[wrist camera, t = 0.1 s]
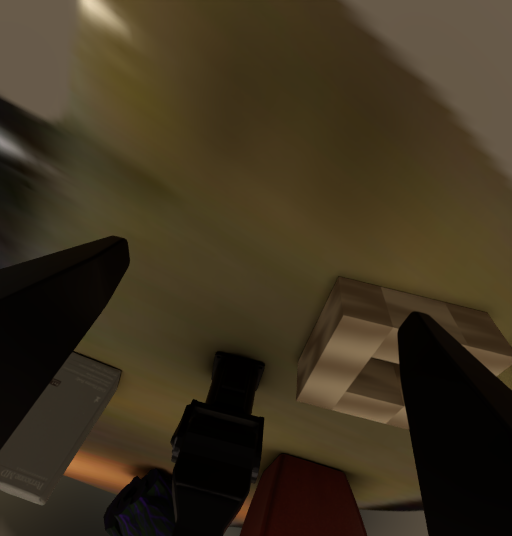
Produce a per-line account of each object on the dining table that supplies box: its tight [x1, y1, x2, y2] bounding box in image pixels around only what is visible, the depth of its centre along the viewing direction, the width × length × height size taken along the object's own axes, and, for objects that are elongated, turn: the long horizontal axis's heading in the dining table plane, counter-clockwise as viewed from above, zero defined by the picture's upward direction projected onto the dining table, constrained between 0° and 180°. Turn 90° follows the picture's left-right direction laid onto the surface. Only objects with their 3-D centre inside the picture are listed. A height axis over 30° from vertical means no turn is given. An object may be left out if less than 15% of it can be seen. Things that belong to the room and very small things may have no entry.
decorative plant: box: [104, 468, 176, 536], centre depth 68 cm, size 21×26×30 cm
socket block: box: [296, 277, 512, 430], centre depth 28 cm, size 14×14×5 cm
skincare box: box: [0, 352, 121, 505], centre depth 38 cm, size 8×7×16 cm
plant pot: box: [240, 454, 367, 536], centre depth 48 cm, size 19×19×17 cm
